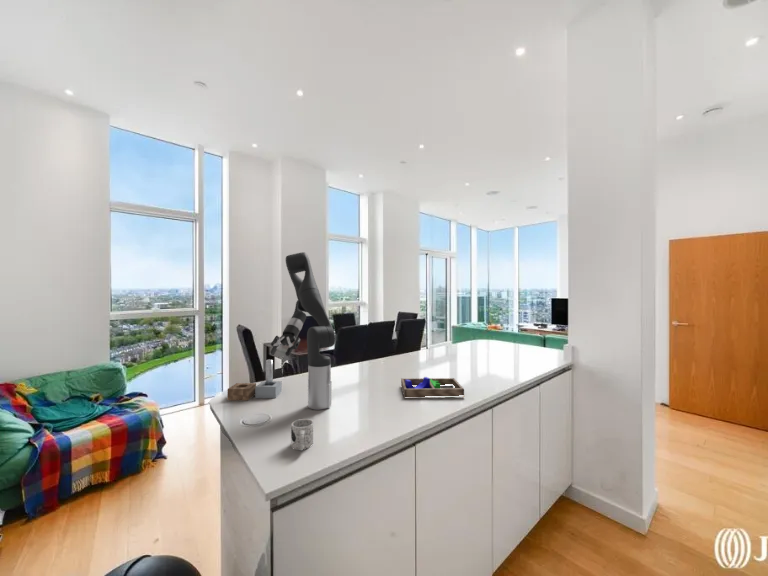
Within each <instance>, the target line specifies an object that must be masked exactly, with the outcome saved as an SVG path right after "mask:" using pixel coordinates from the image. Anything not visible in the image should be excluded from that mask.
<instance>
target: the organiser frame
mask: <svg viewBox="0 0 768 576" xmlns="http://www.w3.org/2000/svg"><path fill="white" fill-rule="evenodd" d="M429 378H430V379H432V380H433V381H439V383H440V385H445V384H453V385H454V386H455V388H453V387H444V388H443V387H440V389H435V388H434V386H433V384H432V383H431V381H430V389H406V385H405V380H410V381H412V385H419V383H422V382H423V379H424V377H422V378H417V377H416V378H413V377H412V378H400V379H401V381H400V382H401V383H400V385H401V386H402V387H401V390H403V391H402V393H404V395H403V398H404V397H425V396H459V395H464V396H465V389H464V387H463V386H462V385H461V384H460V383H459V382H458V380H456V378H454V377H451V378H450V377H449V378H443V377H442V378H441V377H440V378H439V377H437V378H435V377H434V378H431V377H429Z"/></svg>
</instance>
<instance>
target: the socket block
mask: <svg viewBox="0 0 768 576" xmlns="http://www.w3.org/2000/svg"><path fill="white" fill-rule="evenodd" d="M282 384H283V383H282V381H281V380H280V381H279V380H278V381H277V380H273V386H266V380H264V381H263V380H262V381H261V382H260V383H258V384H256V388H255V395H254V396H255V397H254V398H255V399H276V398H278V396H279V395H280V394H281V393H282V391H283V389H282Z"/></svg>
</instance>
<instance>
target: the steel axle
mask: <svg viewBox="0 0 768 576" xmlns="http://www.w3.org/2000/svg"><path fill="white" fill-rule="evenodd" d="M273 361H274V360H273V359H270V358H269V359H266V361H265V381H266V386H273V381H274V380H273V379H274V377H273V375H274V373H273V370H274V362H273Z"/></svg>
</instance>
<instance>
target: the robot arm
mask: <svg viewBox="0 0 768 576" xmlns="http://www.w3.org/2000/svg"><path fill="white" fill-rule="evenodd" d="M285 264H286V265H285V266H286V268H287V271H288V275H289V277H290V281H291V282H292V284H293V287H294V291H295V293H296V298H297V300H296V302H295V308H294V312H293V315H292V316H291V317H290V319H289V321H288V322H287V325H286V326H285V328H284V329H283V331H282V335H281V336H279V335H276V336H274V339H273V340H272V341H271V343H270V346H271V347H272V348H271V350H270V354H271V356H274V355H275V354H276V352H277V349H279V348H281V347H283V346H287V347H288V348H287V350H286V352H285V356H286V357H289V356H290V355H291V354H292V351H294V350H297V349H298V347H299V345H300V343H301V338H300V336H299V334H300V332H301V330H302V329H303V325H304V323H305V322H306V320H307V314H309V315H310V316H311V317H312V318H313V319H314V320H315V321H316V322H317V325H318V326H311V327H309V328H308V330H307V332H306V346H307V349H306V350H307V362H308V363H307V364H308V366H307V367H308V373H307V374H308V375H307V376H308V377H307V380H308V382H307V383H308V384H307V387H308V389H307V391H308V392H307V394H308V395H307V406H308V409H310V410H317V411H318V410H325V409H330V407H331V406H332V391H333V390H332V387H333V386H332V380H331V379H332V377H331V376H332V371H331V369H332V367H331V366H332V360H331V357H330V356H328V355H324V354H321V353H320V349H325V348H326V349H327V348H331V347H333V346H334V345H335V343H336V333H335V330H334V328H333V325H332V323H331V320H330V319H329V317H328V314H327V312H326V308H325V306H324V303H323V300H322V297H321V293H320V291H319V288H318V285H317V282H316V279H315V276H314V273H313V269H312V265H311V261H310V257H309V255H308V254H307V253H306V252H297V253H293V254H292V253H291V254H289V255H286V256H285ZM303 272H304V276H303V279H302V278H301V277H299V276H298V274H297V273H303ZM306 313H307V314H306Z"/></svg>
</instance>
